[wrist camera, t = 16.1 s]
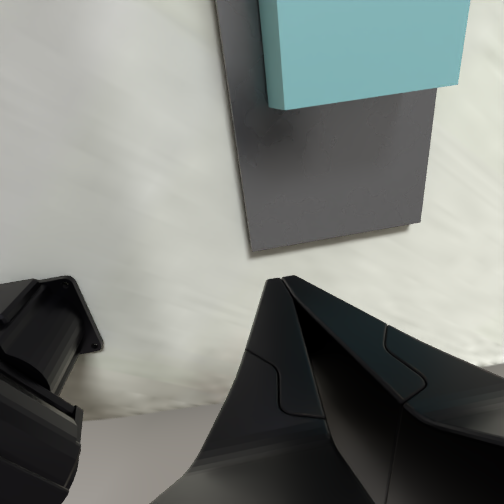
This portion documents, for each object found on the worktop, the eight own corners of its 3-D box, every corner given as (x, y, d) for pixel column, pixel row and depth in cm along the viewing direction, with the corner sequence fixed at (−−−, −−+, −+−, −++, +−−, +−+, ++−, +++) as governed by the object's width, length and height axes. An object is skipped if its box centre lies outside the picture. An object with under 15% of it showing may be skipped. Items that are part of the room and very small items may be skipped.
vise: (412, 217, 23) (438, 233, 20) (250, 245, 22) (256, 265, 20) (486, -460, 11) (573, -632, 9) (150, -446, 11) (131, -628, 8)
